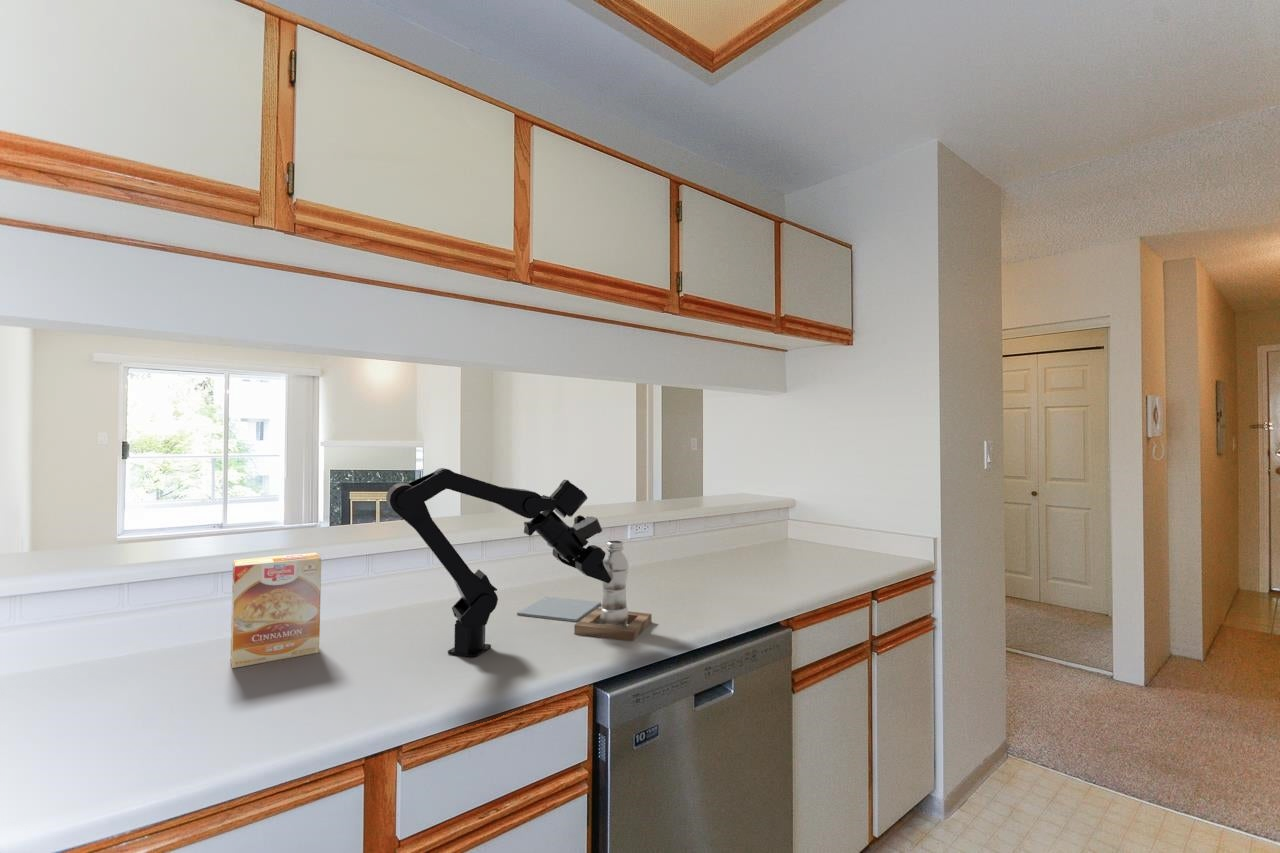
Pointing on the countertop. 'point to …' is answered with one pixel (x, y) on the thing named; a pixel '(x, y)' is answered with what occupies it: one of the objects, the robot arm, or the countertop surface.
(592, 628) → the pocket frame
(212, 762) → the countertop surface
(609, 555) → the plastic bottle
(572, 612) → the mat
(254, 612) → the coffeecake box
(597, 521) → the robot arm
